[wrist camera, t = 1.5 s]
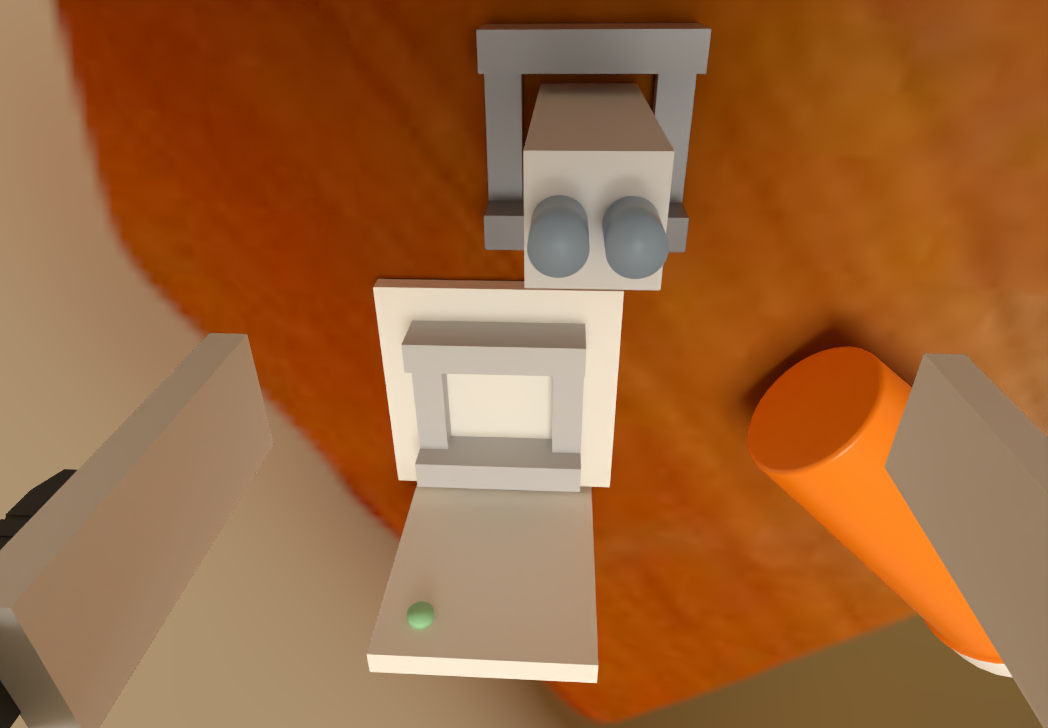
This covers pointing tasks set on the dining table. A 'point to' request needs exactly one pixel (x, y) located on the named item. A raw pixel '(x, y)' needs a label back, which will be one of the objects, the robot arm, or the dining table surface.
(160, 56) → the dining table surface
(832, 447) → the shaker bottle
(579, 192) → the plug
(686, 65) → the grey square frame
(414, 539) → the port
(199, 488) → the robot arm
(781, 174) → the dining table surface
